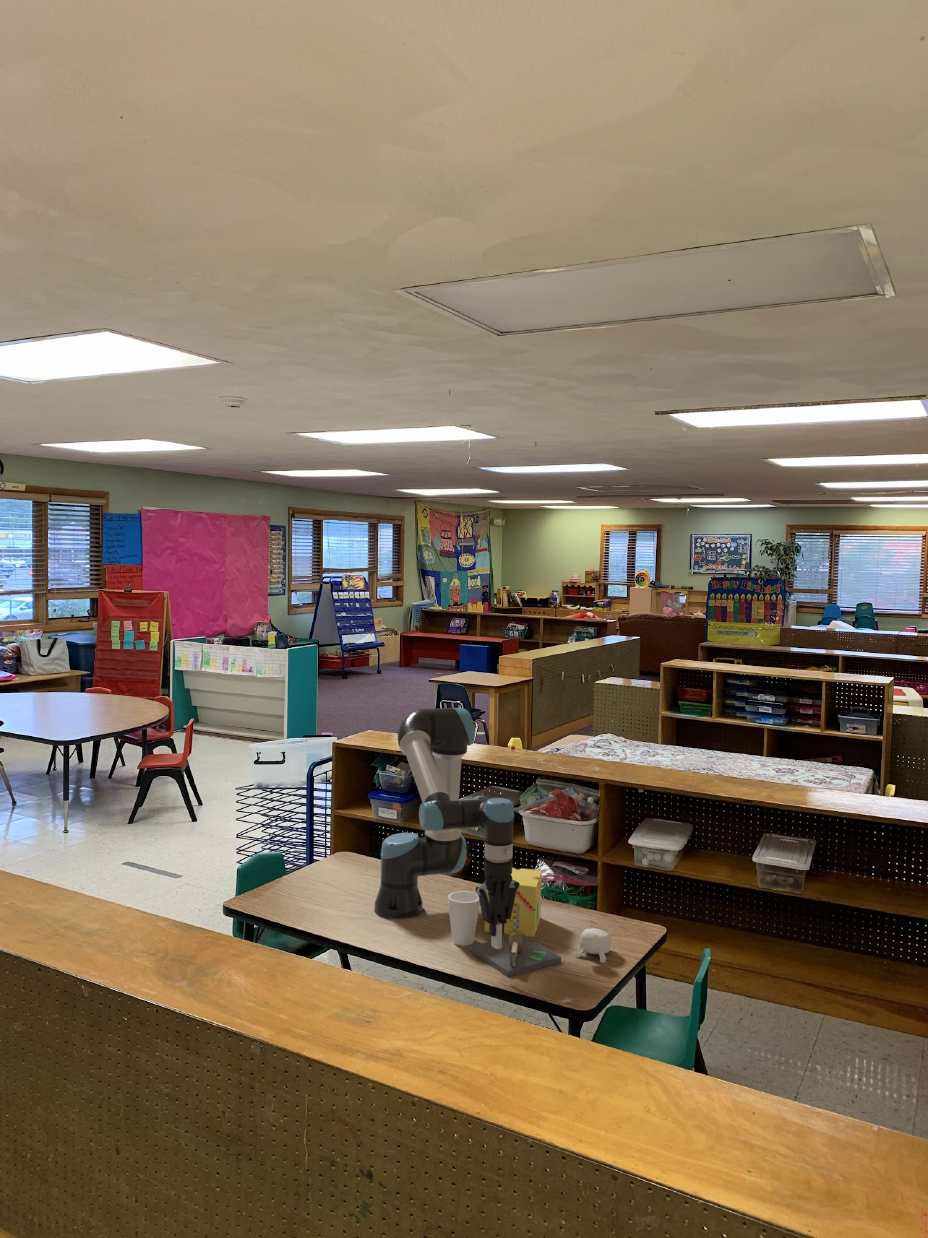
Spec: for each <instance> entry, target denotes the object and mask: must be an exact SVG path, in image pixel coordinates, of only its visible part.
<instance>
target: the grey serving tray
mask: <svg viewBox="0 0 928 1238" xmlns="http://www.w3.org/2000/svg"><path fill="white" fill-rule="evenodd" d="M470 952H471V953H472V954H473V955H475V956H477V957H478V958H479V959H481V960H482V961H484V962H486V963H487V964H488V965H490V966H491V967H493V968H494V969H495V970H497V971H499V973H501V974H503V975H504V976H506V977H507V978H508V977H513V976H516V975H519V974H523V973H527V972H530V971H534V970H538V969H541V968H542V969H543V968H545V967H548V966H554V965H556V964H559V963H561V962H562V956H561V955H560V954H558V953H555V952H554V951H552V950H551V949H549V948H547V947H545V946H544V945H543V944H540V943H539V942H538V941H535V940H533V939H532V938H530V936H525V935H524V934H522V952H520V953H517V957H516V966H515V967H514V966H510V956H511V952H510V951H509V936H507V937H502V948H501V949H496V948H494V947H492V946H491V941H490V940H489V941H487V942H482V943H479V944H478V943H477V944H475V945H470Z"/></svg>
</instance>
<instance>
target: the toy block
mask: <svg viewBox="0 0 928 1238" xmlns="http://www.w3.org/2000/svg"><path fill="white" fill-rule="evenodd" d="M542 874H543V870H540V869H539V870H538V869H531V868H530V869H529V868H519V869H517V868H515V867H512V874H511V876H512V879H513V880H515V881H517V882H519V883H520V885H519V887H518V889H517V891H516V895H515V900H514V905H513V910H512V914H511V918H510V919H507V920H506V921H507V923H506V924H504V934H505V935H509V934H510V932H511V931H520V932H522V934H524V935H525V936H527V937H532V938H535V937H536V932H537V930H538V926H539V925H540V920H541V914H542V913H541V907H542V905H541V904H542V899H541V898H542V880H543V878H542V877H543V876H542ZM486 891H487V893H486V894H487V897H488V903H489V896H488V890H487V888H486ZM497 921H498V920H497ZM489 925H490V924H489V923H487V922H485V921H484V932H485V933H489ZM504 934H503V935H504Z"/></svg>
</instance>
